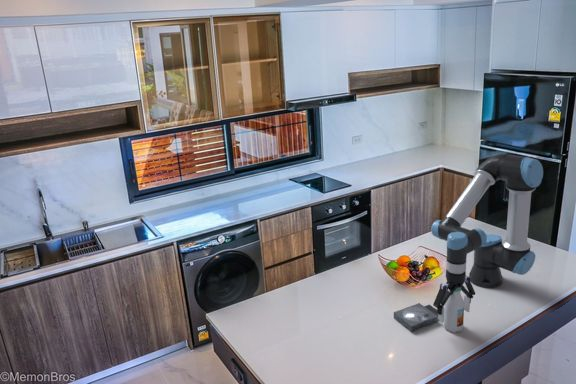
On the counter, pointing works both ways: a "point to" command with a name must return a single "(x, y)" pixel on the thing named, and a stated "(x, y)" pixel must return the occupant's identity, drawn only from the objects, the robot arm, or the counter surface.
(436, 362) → the counter surface
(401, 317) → the dark grey flat block
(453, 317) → the milk bottle
